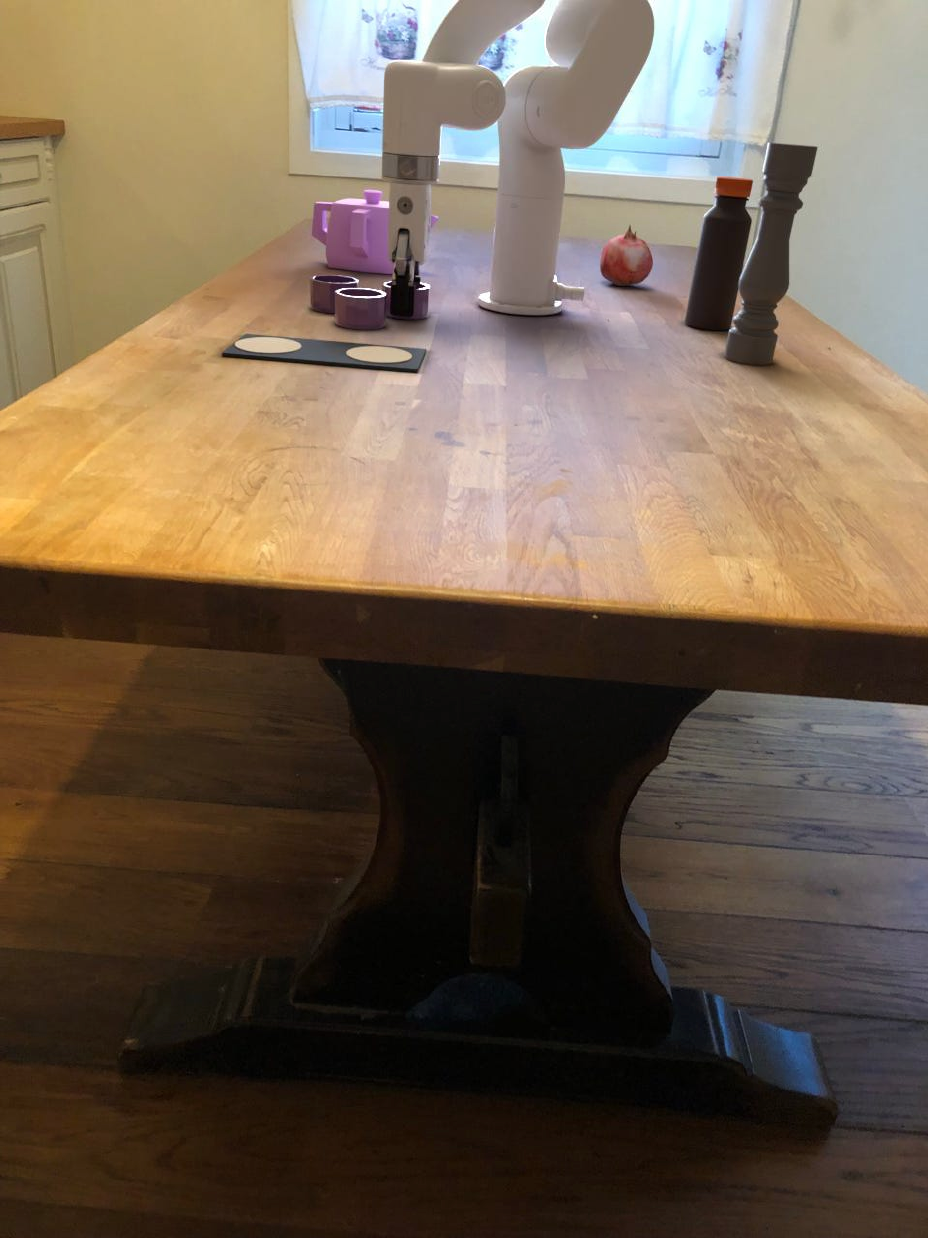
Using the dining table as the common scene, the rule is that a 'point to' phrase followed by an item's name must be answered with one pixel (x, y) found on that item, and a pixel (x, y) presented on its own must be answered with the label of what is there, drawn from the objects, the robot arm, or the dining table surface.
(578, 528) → the dining table surface
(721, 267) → the bottle
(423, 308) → the dish
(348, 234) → the teakettle
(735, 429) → the dining table surface
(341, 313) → the dish
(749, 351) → the candle holder
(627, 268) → the fruit
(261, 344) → the mat
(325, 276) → the purple cup
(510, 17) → the robot arm
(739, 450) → the dining table surface
